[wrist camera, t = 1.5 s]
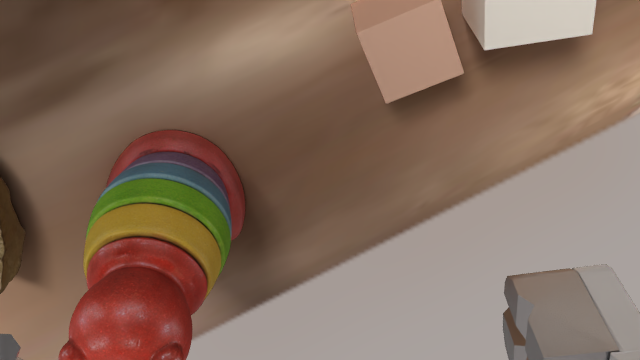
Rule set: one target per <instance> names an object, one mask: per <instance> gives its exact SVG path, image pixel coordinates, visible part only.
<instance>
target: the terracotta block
mask: <svg viewBox="0 0 640 360" xmlns="http://www.w3.org/2000/svg"><path fill="white" fill-rule="evenodd" d="M351 8H352V13H353V18H354V23H355V29H356V34H357V36H358V38H359V41H360V43H361V45H362V48H363V50H364V53H365V55H366V57H367V60H368V62H369V64H370V67H371V69H372V72H373V74H374V76H375V79H376V81H377V83H378V86H379V88H380V91H381V93H382V95H383V98H384V100H385V102H386V104H387V103H390V102H392V101H395V100H397V99H400V98H402V97H405V96H408V95H410V94H413V93H415V92H418V91H420V90H423V89H425V88H428V87H431V86H433V85H436V84H438V83H441V82H443V81H446V80H449V79H451V78H454V77H456V76H459V75H461V74H464V71H463V68H462V65H461V62H460V58H459V55H458V52H457V49H456V46H455V43H454V40H453V37H452V34H451V30H450V27H449V24H448V21H447V18H446V15H445V12H444V9H443V6H442V2H441V0H360V1H357V2H355V3H353V4H351Z"/></svg>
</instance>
